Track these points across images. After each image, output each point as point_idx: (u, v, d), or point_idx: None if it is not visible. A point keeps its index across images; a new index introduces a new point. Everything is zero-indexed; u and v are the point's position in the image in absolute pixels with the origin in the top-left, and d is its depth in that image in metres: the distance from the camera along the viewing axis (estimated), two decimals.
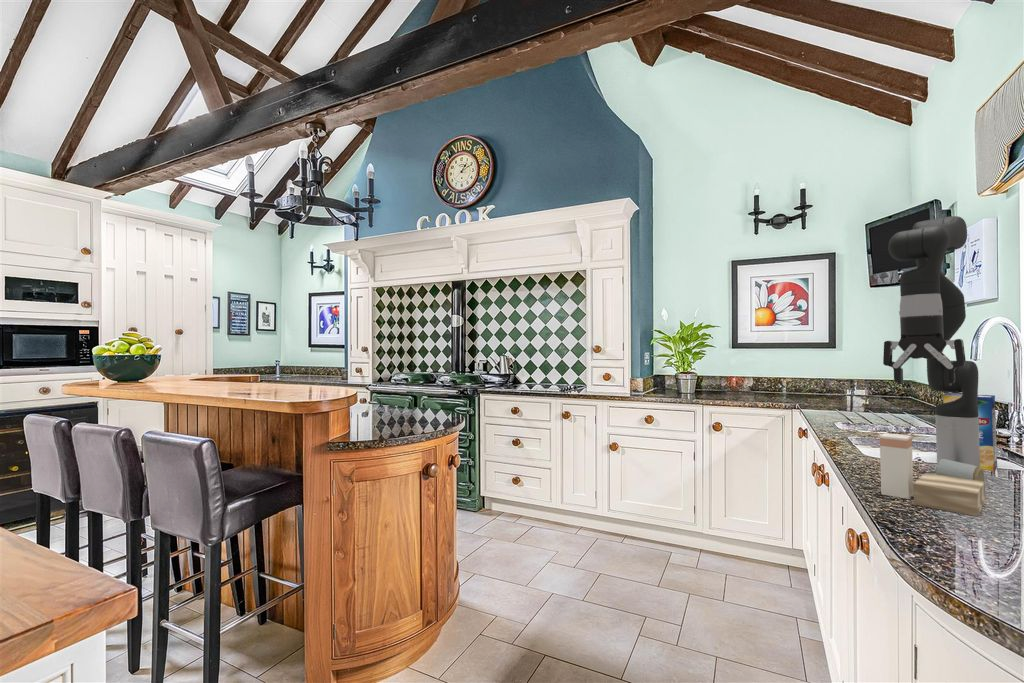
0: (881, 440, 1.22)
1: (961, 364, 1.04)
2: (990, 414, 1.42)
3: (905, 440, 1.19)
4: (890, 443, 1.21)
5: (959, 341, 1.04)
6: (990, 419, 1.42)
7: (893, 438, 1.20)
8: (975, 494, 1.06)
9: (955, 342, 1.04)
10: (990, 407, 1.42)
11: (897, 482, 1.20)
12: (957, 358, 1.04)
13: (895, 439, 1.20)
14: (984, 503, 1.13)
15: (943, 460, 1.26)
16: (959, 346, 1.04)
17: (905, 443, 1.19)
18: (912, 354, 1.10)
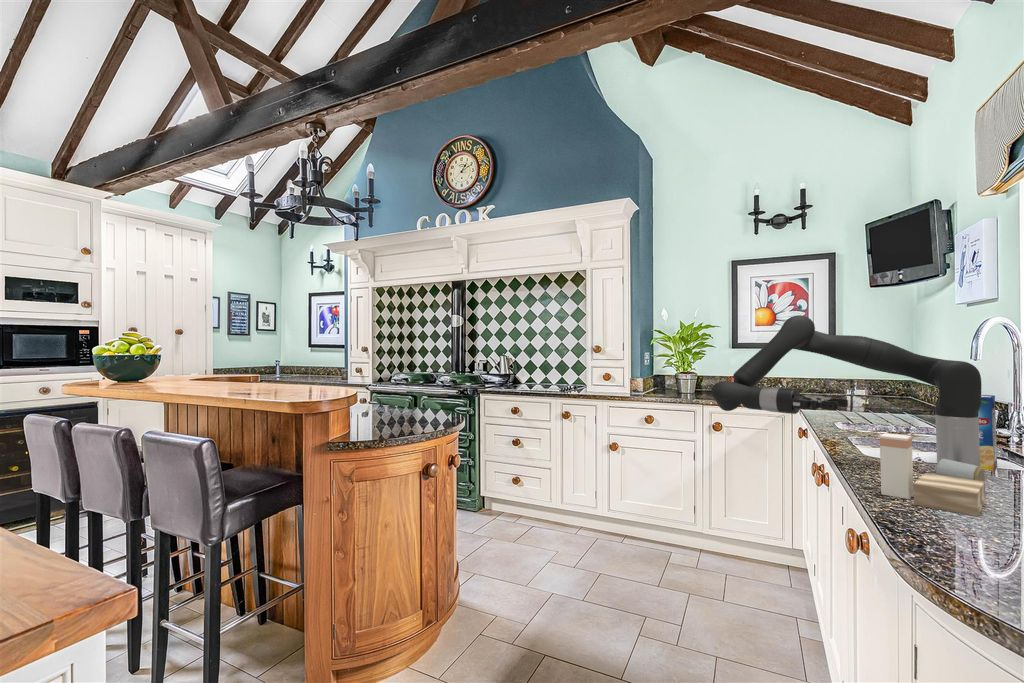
0: (881, 440, 1.22)
1: (814, 409, 1.30)
2: (990, 414, 1.42)
3: (905, 440, 1.19)
4: (890, 443, 1.21)
5: (794, 408, 1.34)
6: (990, 419, 1.42)
7: (893, 438, 1.20)
8: (975, 494, 1.06)
9: (796, 407, 1.34)
10: (990, 407, 1.42)
11: (897, 482, 1.20)
12: None
13: (895, 439, 1.20)
14: (984, 503, 1.13)
15: (944, 460, 1.26)
16: None
17: (905, 443, 1.19)
18: None
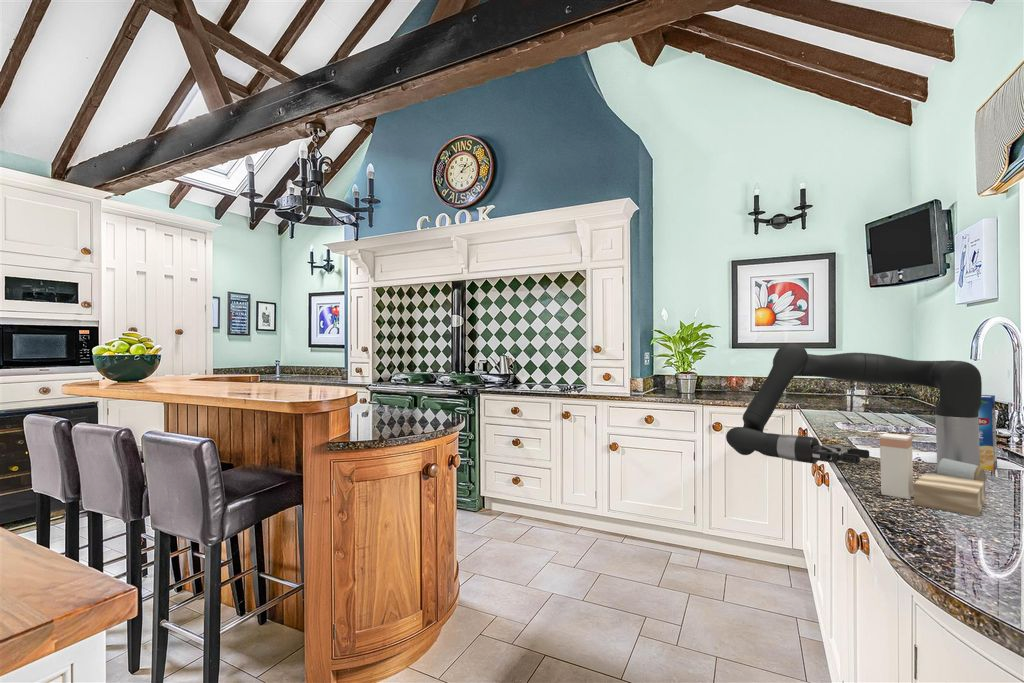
0: (881, 440, 1.22)
1: None
2: (990, 414, 1.42)
3: (905, 440, 1.19)
4: (890, 443, 1.21)
5: (814, 459, 1.31)
6: (990, 419, 1.42)
7: (893, 438, 1.20)
8: (975, 494, 1.06)
9: None
10: (990, 407, 1.42)
11: (897, 482, 1.20)
12: (830, 461, 1.28)
13: (895, 439, 1.20)
14: (984, 503, 1.13)
15: (944, 460, 1.26)
16: None
17: (905, 443, 1.19)
18: None
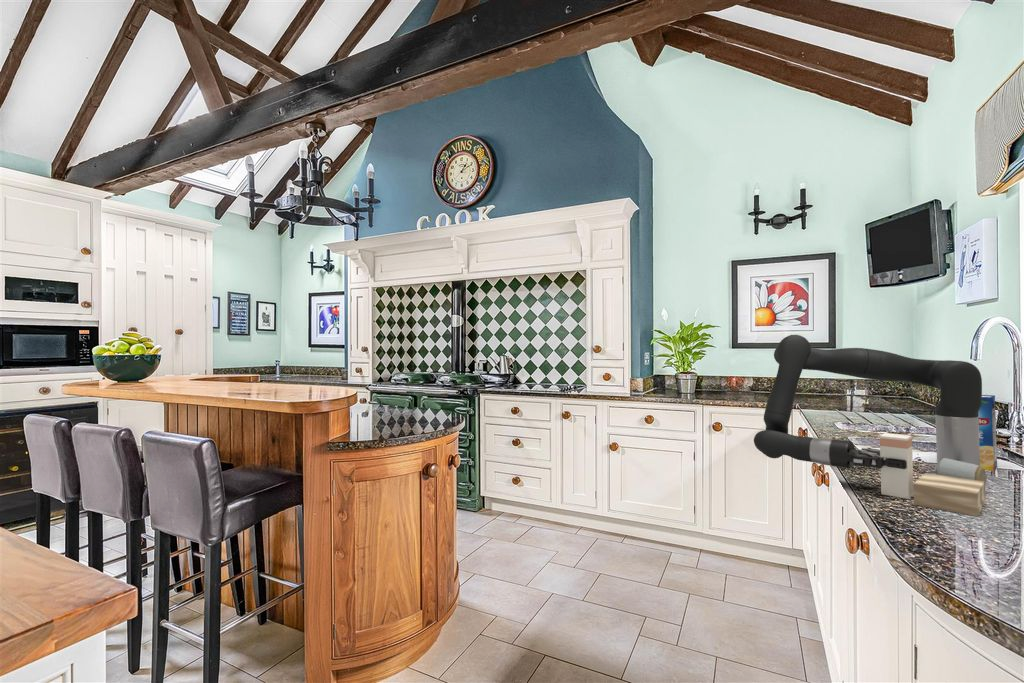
0: (881, 440, 1.22)
1: None
2: (990, 414, 1.42)
3: (905, 440, 1.19)
4: (890, 443, 1.21)
5: (855, 465, 1.23)
6: (990, 419, 1.42)
7: (893, 438, 1.20)
8: (975, 494, 1.06)
9: None
10: (990, 407, 1.42)
11: (897, 482, 1.20)
12: (873, 466, 1.22)
13: (895, 439, 1.20)
14: (984, 503, 1.13)
15: (945, 459, 1.27)
16: None
17: (905, 443, 1.19)
18: None
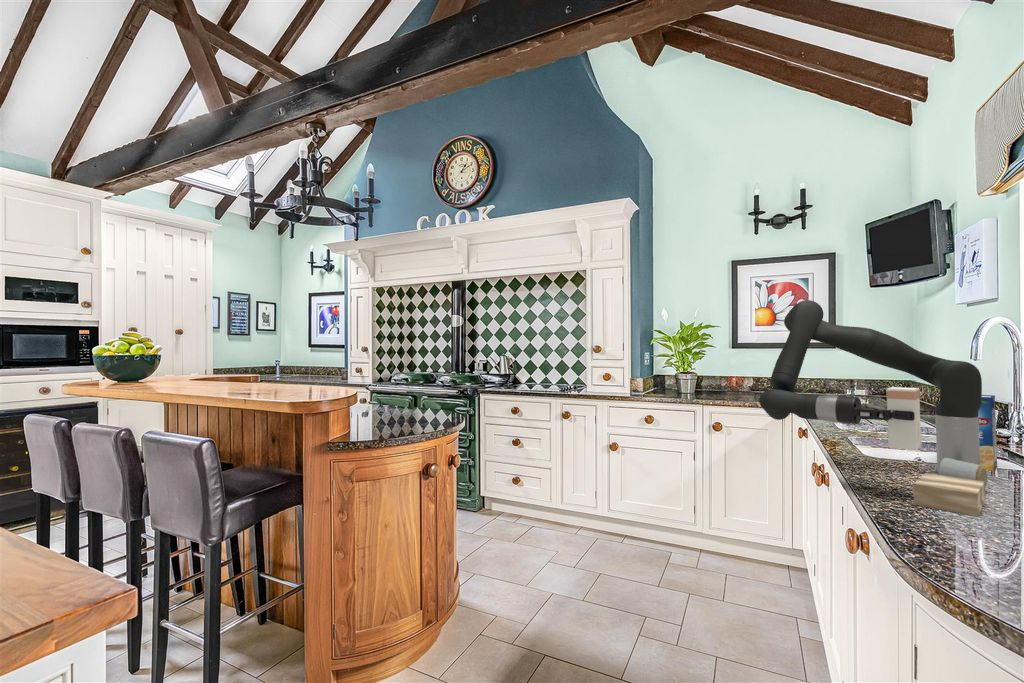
0: (888, 393, 1.21)
1: (887, 420, 1.19)
2: (990, 414, 1.42)
3: (913, 391, 1.17)
4: (897, 395, 1.20)
5: (862, 418, 1.22)
6: (990, 419, 1.42)
7: (900, 390, 1.19)
8: (975, 494, 1.06)
9: None
10: (990, 407, 1.42)
11: (904, 434, 1.19)
12: None
13: (902, 391, 1.19)
14: (984, 503, 1.13)
15: (946, 459, 1.27)
16: (868, 418, 1.22)
17: (913, 394, 1.17)
18: None
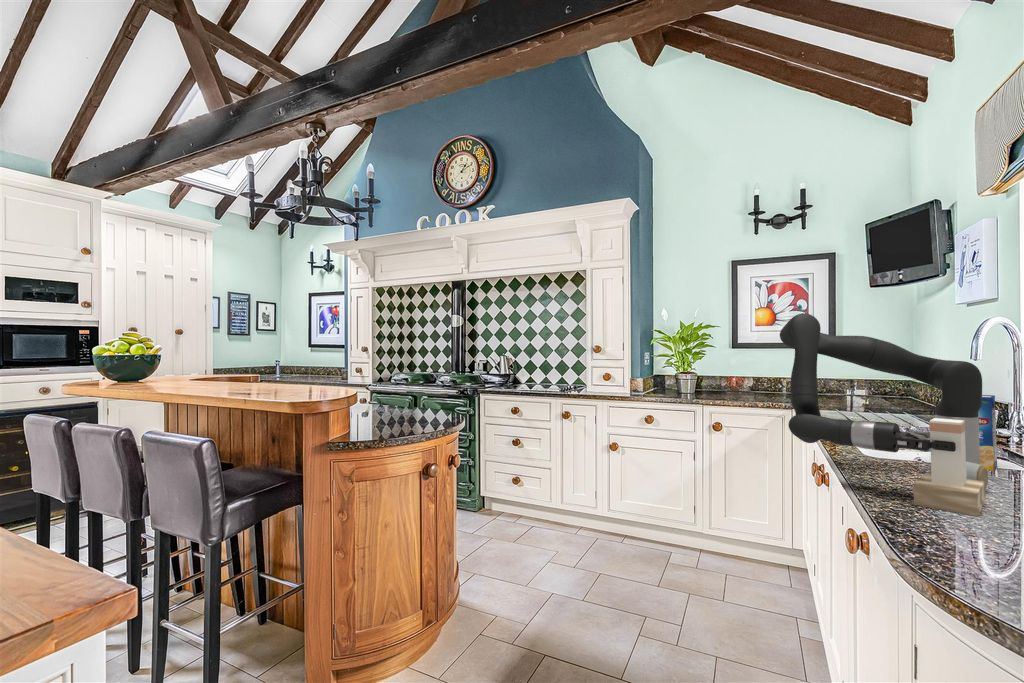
0: (931, 425, 1.15)
1: (926, 450, 1.13)
2: (990, 414, 1.42)
3: (959, 424, 1.11)
4: (941, 428, 1.13)
5: (899, 447, 1.16)
6: (990, 419, 1.42)
7: (945, 422, 1.13)
8: (975, 494, 1.06)
9: None
10: (990, 407, 1.42)
11: (949, 469, 1.12)
12: None
13: (947, 423, 1.12)
14: (984, 503, 1.13)
15: None
16: (905, 447, 1.16)
17: (959, 428, 1.11)
18: None
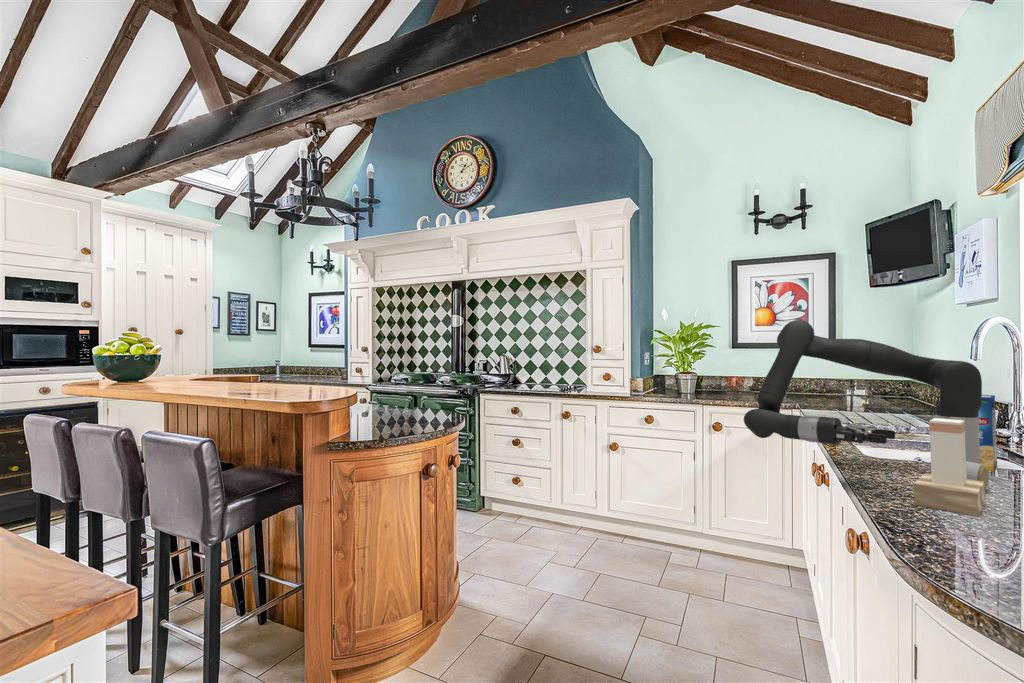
0: (931, 425, 1.15)
1: None
2: (990, 414, 1.42)
3: (959, 424, 1.11)
4: (941, 428, 1.13)
5: (838, 440, 1.26)
6: (990, 419, 1.42)
7: (945, 422, 1.13)
8: (975, 494, 1.06)
9: None
10: (990, 407, 1.42)
11: (949, 469, 1.12)
12: None
13: (947, 423, 1.12)
14: (984, 503, 1.13)
15: None
16: (843, 440, 1.26)
17: (959, 428, 1.11)
18: None
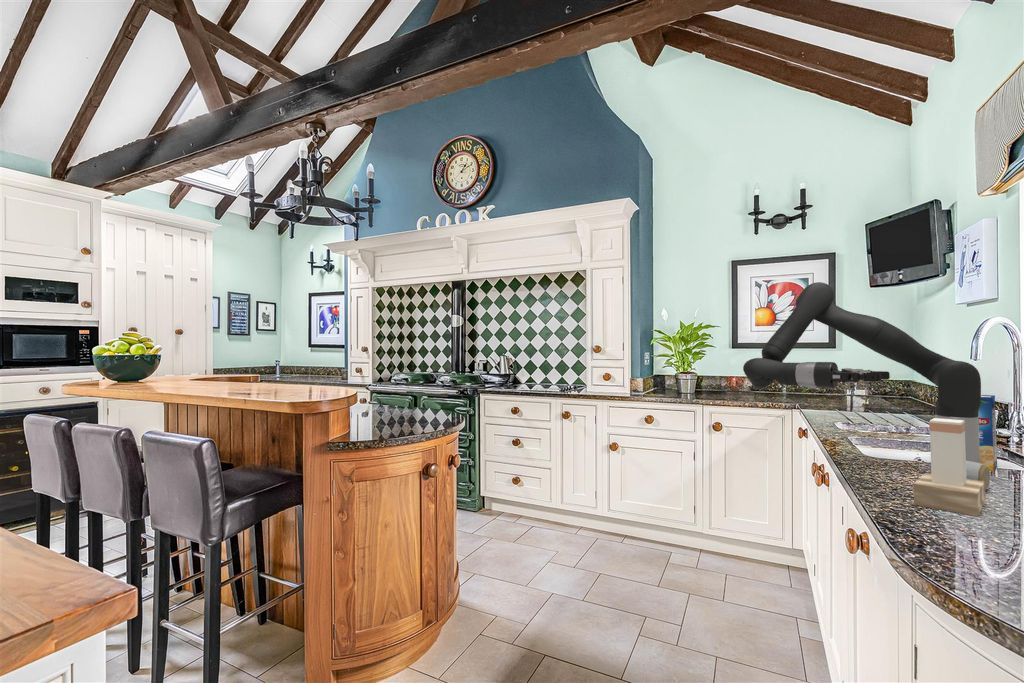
0: (931, 425, 1.15)
1: (856, 381, 1.26)
2: (990, 414, 1.42)
3: (959, 424, 1.11)
4: (941, 428, 1.13)
5: (834, 381, 1.30)
6: (990, 419, 1.42)
7: (945, 422, 1.13)
8: (975, 494, 1.06)
9: (836, 380, 1.31)
10: (990, 407, 1.42)
11: (949, 469, 1.12)
12: None
13: (947, 423, 1.12)
14: (984, 503, 1.13)
15: None
16: None
17: (959, 428, 1.11)
18: None
